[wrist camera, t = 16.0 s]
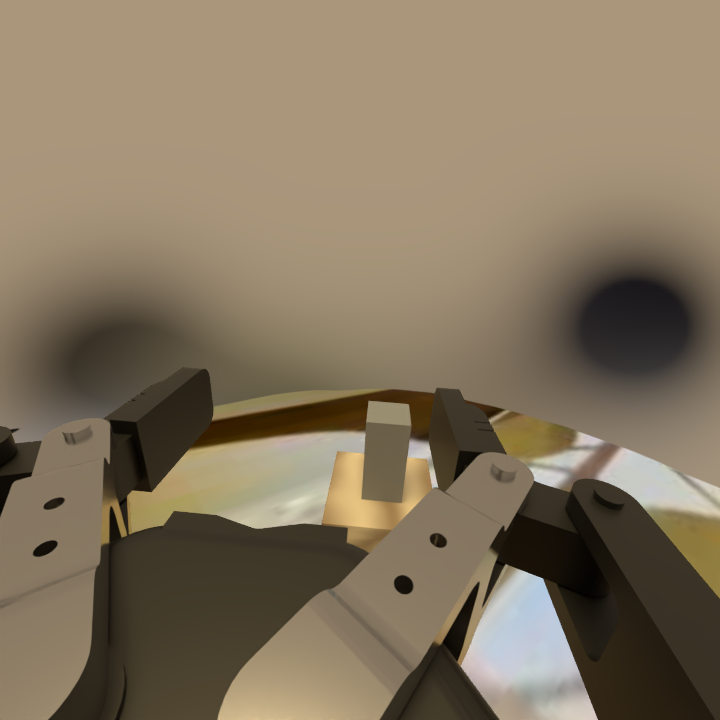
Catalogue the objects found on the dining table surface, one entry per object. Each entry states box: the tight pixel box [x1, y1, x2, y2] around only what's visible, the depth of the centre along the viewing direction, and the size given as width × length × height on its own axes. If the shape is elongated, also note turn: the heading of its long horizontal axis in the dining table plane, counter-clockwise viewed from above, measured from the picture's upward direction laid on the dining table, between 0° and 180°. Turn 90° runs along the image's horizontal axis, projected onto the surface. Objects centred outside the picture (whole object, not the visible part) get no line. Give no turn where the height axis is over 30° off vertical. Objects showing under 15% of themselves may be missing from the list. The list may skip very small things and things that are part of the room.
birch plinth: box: [322, 451, 432, 553], centre depth 41 cm, size 12×12×5 cm
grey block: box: [361, 401, 411, 503], centre depth 38 cm, size 4×4×10 cm
